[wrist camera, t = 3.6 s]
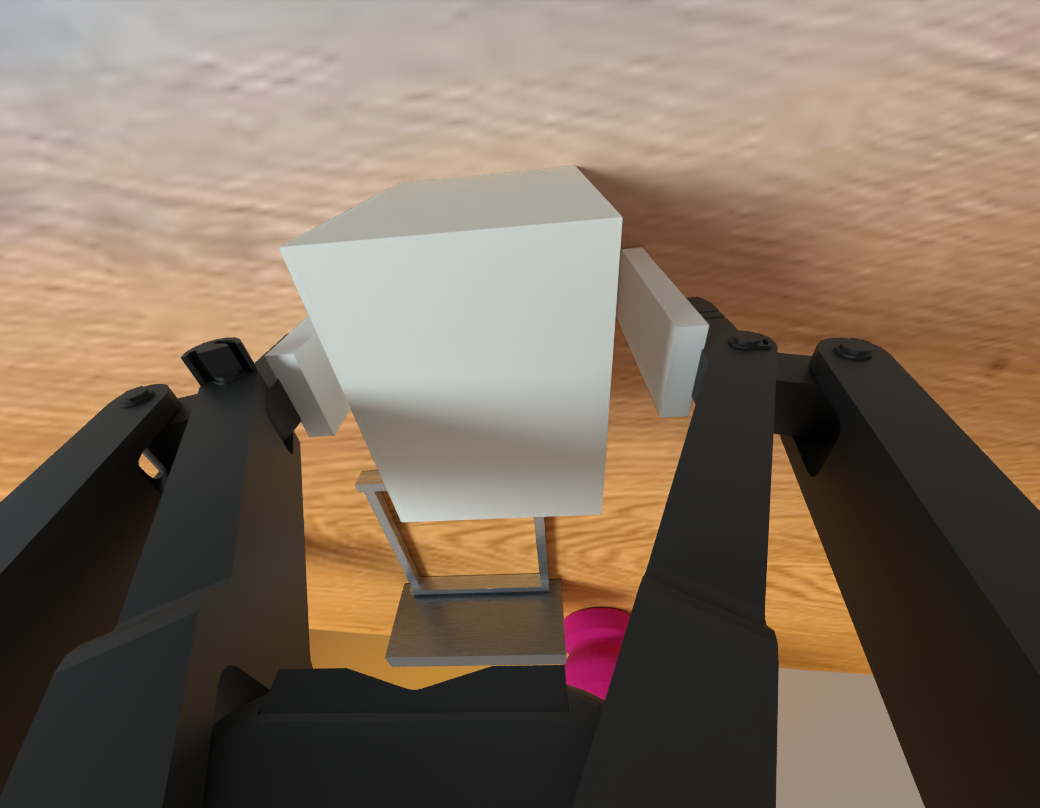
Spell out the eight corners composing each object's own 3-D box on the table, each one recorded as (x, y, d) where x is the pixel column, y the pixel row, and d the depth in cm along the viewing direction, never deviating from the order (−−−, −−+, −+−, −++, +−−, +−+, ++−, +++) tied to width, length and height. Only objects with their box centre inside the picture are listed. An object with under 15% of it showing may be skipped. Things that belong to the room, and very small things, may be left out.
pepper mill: (572, 598, 30) (621, 1132, 14) (655, 610, 31) (786, 1121, 15) (545, 635, 35) (560, 1080, 19) (618, 645, 36) (693, 1074, 20)
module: (399, 182, 13) (278, 247, 7) (574, 165, 13) (622, 217, 6) (446, 379, 18) (402, 525, 12) (574, 371, 18) (601, 517, 11)
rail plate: (346, 472, 22) (305, 551, 18) (556, 462, 21) (563, 543, 17) (409, 594, 30) (392, 666, 26) (561, 589, 30) (566, 664, 26)
